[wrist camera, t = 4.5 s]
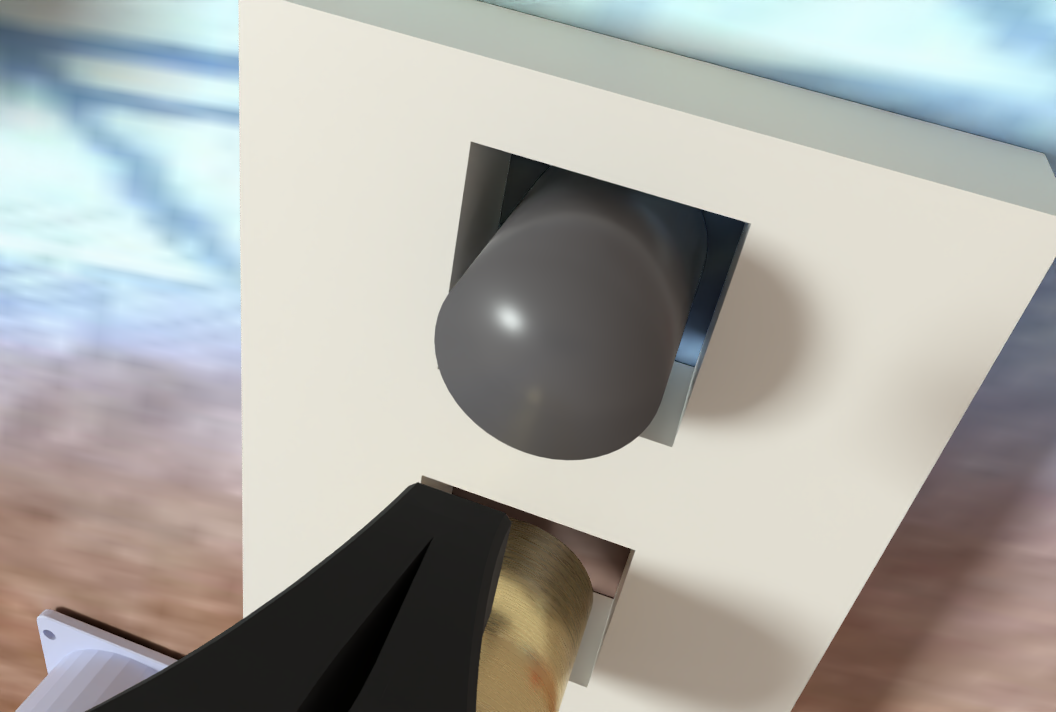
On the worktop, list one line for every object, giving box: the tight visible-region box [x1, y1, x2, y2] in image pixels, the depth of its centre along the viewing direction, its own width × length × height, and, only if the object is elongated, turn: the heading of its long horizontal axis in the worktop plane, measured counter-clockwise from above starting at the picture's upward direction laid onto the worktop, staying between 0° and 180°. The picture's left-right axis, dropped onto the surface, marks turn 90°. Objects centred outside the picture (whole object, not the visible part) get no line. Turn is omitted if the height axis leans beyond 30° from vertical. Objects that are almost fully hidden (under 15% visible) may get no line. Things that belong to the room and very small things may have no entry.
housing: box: [239, 0, 1056, 712], centre depth 23 cm, size 24×14×3 cm, turn 169°
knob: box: [434, 165, 708, 460], centre depth 17 cm, size 4×4×5 cm
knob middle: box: [476, 517, 593, 712], centre depth 20 cm, size 4×4×5 cm
